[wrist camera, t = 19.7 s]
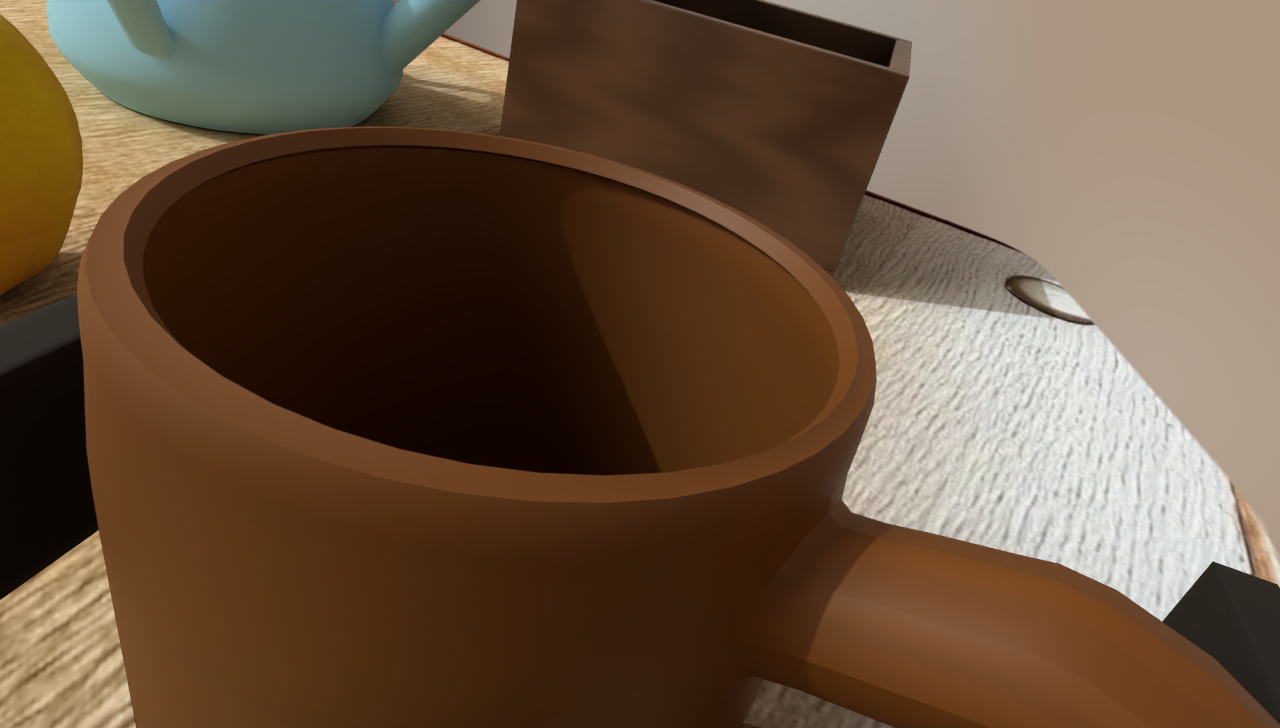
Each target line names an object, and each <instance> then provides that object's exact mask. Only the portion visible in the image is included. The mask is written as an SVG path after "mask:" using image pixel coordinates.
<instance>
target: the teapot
mask: <svg viewBox="0 0 1280 728" xmlns="http://www.w3.org/2000/svg"><path fill="white" fill-rule="evenodd" d="M479 1H480V0H399V1H398V2H397V3H396V4H395V5H394V2H393V0H47V17H48V25H49V34H50V36H51V37H52V39H53V41H54V43H55V45H56V46H57V48H58V50H59V52H60V53H61V54H62V55H63V56H64V57H65V58H66V59H67V60H68V61H69V62H70V63H71V65H73V66H74V67H75V68H76V69H77V70H78V71H79V72H80V73H81V74H82V75H83V76H84V77H85V78H86V79H87V80H88V81H89V82H90V83H92V84H93V85H94V86H95V87H96V88H97V89H98V90H100V91H101V92H102V93H103V94H104V95H105V96H107V97H108V98H110V99H111V100H113V101H114V102H117V103H119V104H121V105H123V106H125V107H127V108H130V109H132V110H135V111H137V112H140V113H143V114H146V115H150V116H153V117H156V118H160V119H164V120H168V121H172V122H176V123H181V124H186V125H190V126H195V127H201V128H208V129H214V130H221V131H230V132H239V133H251V134H276V133H284V132H292V131H299V130H308V129H322V128H337V127H351V126H354V125H356V124H359V123H360V122H362V121H364V120H366V119H367V118H368V117H369V116H370V115H371V114H372V113H373V112H375V111H376V110H377V109H378V108H379V107H380V106H381V105H382V104H383V103H384V102H385V101H386V100H387V99H388V98H389V97H390V96H391V95H392V94H393V92H394V91H395V90H396V89H397V87H398V85H399V82H400V80H401V78H402V75H403V69H404V68H405V67H406V66H407V65H408V64H409V63H410V62H411V61H413V60H414V59H415V58H416V57H417V56H418V55H419V54H420V53H422V52H423V51H424V50H425V49H426V48H427V47H428V46H429V45H431V44H432V43H433V42H434V41H435V40H436V39H437V38H438V37H440V36H441V35H442V34H443V33H444V32H445V31H446V30H447V29H449V28H450V27H451V26H452V25H453V24H454V23H455V22H456V21H457V20H458V19H460V18H461V17H462V16H463V15H464V14H465V13H466V12H468V11H469V10H470V9H471V8H472V7H473V6H474V5H475V4H476V3H478V2H479Z"/></svg>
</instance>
